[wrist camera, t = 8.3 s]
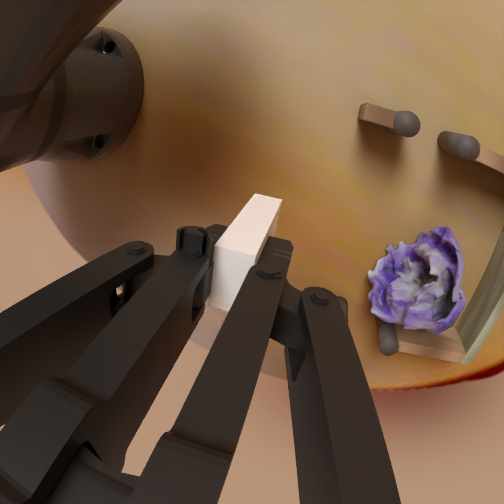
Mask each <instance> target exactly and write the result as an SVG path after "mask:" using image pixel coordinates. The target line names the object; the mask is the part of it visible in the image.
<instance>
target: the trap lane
mask: <svg viewBox="0 0 504 504" xmlns="http://www.w3.org/2000/svg"><path fill="white" fill-rule="evenodd" d="M358 119H360V120H364V121H367V122H371V123H374V124H377V125H381V126H384V127H385V128H386V129H387V130H388V131H389V132H391V133H395V134H398V135H401V136H405V137H413V136H415V135H416V134H417V133H418V132H419V130H420V121H419V119H418V117H417V116H416V115H415V114H414V113H412V112H410V111H392V110H389V109H386V108H382V107H379V106H376V105H372V104H369V103H364V104H362V105H360V109H359V114H358ZM438 145H439V147H440V149H441V150H443V151H445V152H447V153H450V154H452V155H455V156H457V157H460V158H462V159H465V160H467V161H477V162H479V163H481V164H483V165H485V166H487V167H490V168H492V169H494V170H496V171H498V172H500V173H502V174H504V157H503V156H501V155H499V154H497V153H495V152H493V151H491V150H489V149H487V148H485V147H483V146H481V145H479V142H478V141H477V140H476V139H475V138H474V137H472V136H468V135H463V134H459V133H454V132H448V131H444V132H442V133H440V135H439V136H438ZM337 298H338V300H339V302H340V305H341V307H342V310H343V313H344V316H345V318H346V321H347V324H348V303H347V300H346V299H345V298H343V297H337ZM503 310H504V228H503V230H502V233H501V235H500V238H499V240H498V243H497V245H496V248H495V250H494V253H493V255H492V257H491V259H490V262H489V264H488V266H487V268H486V271H485V273H484V275H483V277H482V279H481V281H480V283H479V285H478V287H477V289H476V291H475V293H474V295H473V297H472V299H471V301H470V303H469V305H468V306H467V308H466V310H465V312H464V314H463V316H462V317H461V319H460V321H459V323H458V324H457V326H456V328H455V327H450V328H449V329H447V330H445V331H443V332H441V333H440V334H437V335H433V334H431V333H430V332H429V331H428V330H426V329H416V330H412V329H405V328H404V326H405V325H401V324H396V323H388V322H385V321H383V320H381V319H380V318H378V317H377V316H376V322H377V330H378V338H379V346H380V352H381V353H382V354H383V355H386V356H390V355H393V354H395V353H396V352H397V351H399V352H404V353H409V354H414V355H419V356H424V357H429V358H435V359H440V360H445V361H451V362H457V363H462V364H468V365H469V364H470V362H471V361H472V359H473V358H474V356H475V355H476V354H477V352H478V351H479V349H480V348H481V346H482V345H483V343H484V341H485V340H486V338H487V337H488V335H489V334H490V332H491V330H492V329H493V327H494V325H495V324H496V322H497V320H498V319H499V317H500V315H501V313H502V312H503Z"/></svg>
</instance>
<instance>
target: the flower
mask: <svg viewBox="0 0 504 504" xmlns="http://www.w3.org/2000/svg"><path fill="white" fill-rule="evenodd" d="M429 232H430V233H429V234H427V233H422V232H421V233H420V234H419V236H418V238H417V241H416V243H414V244H411V245H407V244H405V243H403V241H401V242H400V243H399V244H398V248H397V250H395V249H394V248H393V245H392V244H390V245H388V246H387V247H386V251H387V252H388V255H387V256H385V257H383V258H380V259H379V260H378V261H377V263H376V266H375V268H374V270H373V271H371V270H369V272H368V279H369V281H370V282H371V284H372V285H373V288H372V289H371V291H370V292H369V293H368V298H369V300H370V301H371V303H372V307H371V313H373V314H374V315H376V316H377V317H378V318H380V319H381V320H383V321H385V322H388V323H396V324H401V325H405V326H404V328H405V329H412V330H416V329H426V330H428V331H429V332H430V333H431V334H433V335H437V334H440V333H441V332H443V331H445V330H447V329H449V328H450V327H452V326H453V325H454V323H455V321H456V320H457V318H458V316H459V315H460V313H461V312H462V310H463V308H464V306H465V303H466V296H465V294H464V292H463V290H462V289H461V281H462V278H463V273H464V261H463V255H462V252H461V250H460V247H459V244H458V242H457V241H456V239H455V237H454V236H453V233H452V231H451V229H450V228H449V227H437V228H434V229H432V230H431V231H429Z"/></svg>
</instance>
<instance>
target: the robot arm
mask: <svg viewBox="0 0 504 504" xmlns="http://www.w3.org/2000/svg"><path fill="white" fill-rule="evenodd" d="M121 1H122V0H0V172H2V171H5V170H7V169H11V168H13V167H16V166H19V165H22V164H25V163H28V162H31V161H35V160H41V161H49V162H57V163H64V164H72V165H76V164H84V163H88V162H91V161H94V160H98V159H101V158H103V157H105V156H107V155H109V154H110V153H111V152H113V151H114V150H115V149H116V148H117V147H118V146H119V145H120V144H121V143H122V142H123V141H124V139H125V138H126V137H127V135H128V134H129V132H130V130H131V128H132V127H133V124H134V122H135V120H136V117H137V115H138V112H139V108H140V104H141V99H142V91H143V74H142V67H141V63H140V59H139V56H138V54H137V52H136V50H135V48H134V46H133V45H132V43H131V42H130V41H129V40H128V39H127V38H126V37H125V36H124V35H122V34H121V33H119V32H117V31H115V30H111V29H107V28H103V27H97V26H96V25H97V24H98V23H99V22H100V21H101V20H102V19H103V18H104V17H105V16H106V15H107V14H108V13H109V12H110V11H112V10H113V9H114V8H115V7H116V6H117V5H118V4H119V3H120V2H121ZM281 203H282V200H281V199H277V198H273V197H268V196H264V195H260V194H254V195H253V197H252V198H251V199H250V200H249V202H248V203H247V204H246V205H245V207H244V208H243V209H242V211H241V212H240V213H239V214H238V216H237V217H236V218H235V219H234V221H233V222H232V223H231V225H230V226H229V227H227V226H223V225H219V224H214V225H211V226H209V227H207V228H206V229H205V228H202V227H198V226H185V227H181V228H179V229H177V239H176V250H175V251H174V252H173V253H172V254H171V255H170V256H163V255H154V248H153V246H152V245H150V244H149V243H145V242H142V241H140V242H139V241H135V242H129V243H126V244H124V245H122V246H120V247H118V248H116V249H114V250H112V251H110V252H108V253H106V254H104V255H102V256H101V257H99V258H97V259H95V260H93V261H91V262H89V263H87V264H85V265H84V266H82V267H80V268H78V269H76V270H75V271H72V272H71V273H69V274H67V275H65V276H63V277H62V278H60V279H58V280H56V281H54V282H53V283H51V284H49V285H47V286H45V287H44V288H42V289H40V290H38V291H37V292H35V293H33V294H31V295H30V296H28V297H26V298H25V299H23V300H21V301H20V302H18V303H16V304H15V305H13V306H11V307H9V308H8V309H6V310H4V311H3V312H1V313H0V427H1V426H2V425H4V424H5V426H4V427H3V428H2V430H1V431H0V504H217V503H218V500H219V497H220V494H221V491H222V488H223V485H224V483H225V480H226V476H227V474H228V471H229V468H230V465H231V462H232V459H233V456H234V453H235V450H236V447H237V443H238V440H239V437H240V434H241V431H242V428H243V425H244V422H245V418H246V415H247V412H248V409H249V406H250V402H251V399H252V396H253V393H254V389H255V386H256V383H257V379H258V376H259V373H260V369H261V366H262V362H263V359H264V355H265V352H266V349H267V345H268V342H269V338H271V339H273V340H275V341H277V342H279V343H281V344H283V345H284V346H285V349H284V353H285V362H286V371H287V380H288V389H289V398H290V407H291V415H292V425H293V436H294V445H295V455H296V466H297V477H298V487H299V498H300V504H401V502H400V497H399V493H398V489H397V485H396V481H395V477H394V473H393V469H392V465H391V461H390V458H389V454H388V450H387V447H386V443H385V439H384V436H383V432H382V429H381V426H380V422H379V419H378V416H377V412H376V409H375V406H374V402H373V399H372V396H371V393H370V389H369V386H368V383H367V380H366V377H365V374H364V371H363V368H362V365H361V362H360V359H359V356H358V353H357V350H356V347H355V344H354V341H353V338H352V335H351V332H350V330H349V327H348V324H347V321H346V318H345V316H344V313H343V310H342V307H341V305H340V302H339V300H338V298H337V296H336V295H335V294H333V293H332V292H331V291H329V290H327V289H325V288H321V287H308V288H305V289H304V290H303V291H302V292H301V291H299V290H297V289H295V288H294V287H293V286H291V285H290V284H289V282H288V281H287V279H286V275H287V271H288V267H289V263H290V259H291V255H292V251H293V245H292V243H291V242H290V241H288V240H284V239H280V238H276V237H275V232H276V227H277V223H278V218H279V213H280V208H281ZM121 285H122V289H123V292H122V293H121V294H119V295H117V293H116V288H117V287H119V286H121ZM208 296H209V302H208V306H211V307H215V308H218V309H221V310H225V311H228V314H227V316H226V318H225V321H224V323H223V325H222V327H221V329H220V331H219V333H218V335H217V337H216V339H215V341H214V343H213V345H212V347H211V349H210V352H209V354H208V356H207V358H206V360H205V362H204V364H203V366H202V368H201V370H200V372H199V374H198V376H197V378H196V380H195V382H194V384H193V387H192V389H191V391H190V393H189V395H188V397H187V399H186V401H185V403H184V405H183V407H182V409H181V411H180V413H179V415H178V417H177V419H176V422H175V423H174V425H173V427H172V429H171V430H170V431H168V432H165V433H164V434H163V435H162V436H161V437H160V439H159V441H158V443H157V444H156V446H155V448H154V450H153V452H152V454H151V456H150V458H149V460H148V462H147V464H146V466H145V468H144V470H143V472H142V474H141V476H134V475H130V474H125V473H121V471H122V469H123V466H124V462H125V454H126V451H127V448H128V446H129V444H130V443H131V441H132V439H133V437H134V436H135V434H136V432H137V430H138V428H139V427H140V425H141V423H142V421H143V419H144V418H145V416H146V414H147V412H148V411H149V409H150V407H151V405H152V403H153V401H154V400H155V398H156V396H157V394H158V393H159V391H160V389H161V387H162V386H163V384H164V382H165V380H166V378H167V377H168V375H169V373H170V371H171V370H172V368H173V366H174V364H175V362H176V361H177V359H178V357H179V355H180V353H181V352H182V350H183V348H184V346H185V345H186V343H187V341H188V340H189V338H190V336H191V334H192V333H193V331H194V329H195V327H196V326H197V324H198V322H199V320H200V319H201V317H202V315H203V313H204V309H205V301H206V300H207V298H208Z"/></svg>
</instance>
